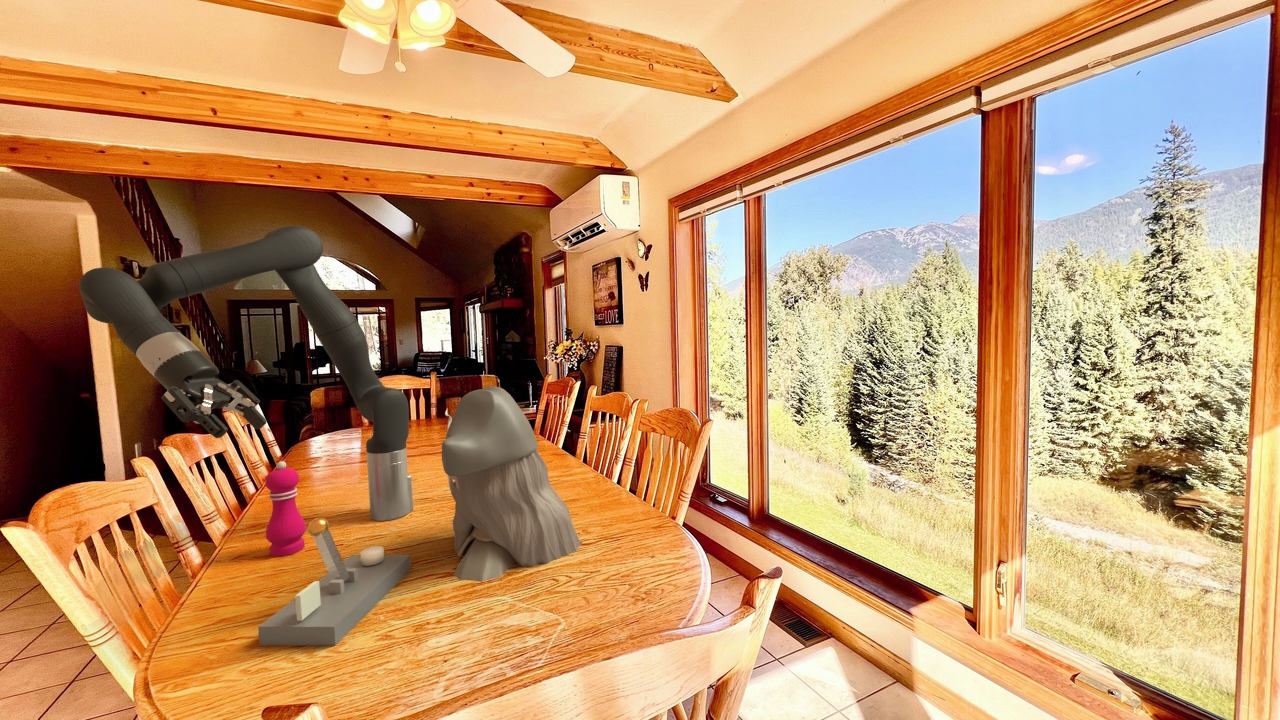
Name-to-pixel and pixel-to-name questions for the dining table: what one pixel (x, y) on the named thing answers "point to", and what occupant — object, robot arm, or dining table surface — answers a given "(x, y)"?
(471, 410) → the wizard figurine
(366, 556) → the push button
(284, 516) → the pepper mill
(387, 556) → the control panel
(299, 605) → the paddle switch
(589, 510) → the dining table surface
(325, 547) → the toggle lever
